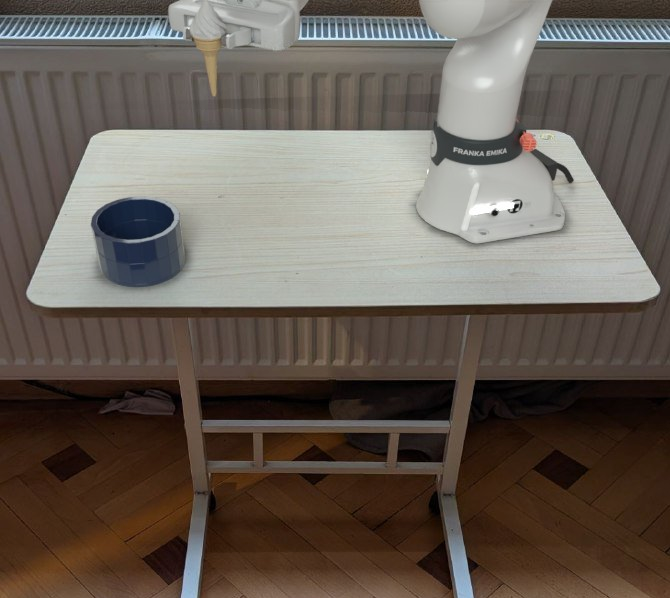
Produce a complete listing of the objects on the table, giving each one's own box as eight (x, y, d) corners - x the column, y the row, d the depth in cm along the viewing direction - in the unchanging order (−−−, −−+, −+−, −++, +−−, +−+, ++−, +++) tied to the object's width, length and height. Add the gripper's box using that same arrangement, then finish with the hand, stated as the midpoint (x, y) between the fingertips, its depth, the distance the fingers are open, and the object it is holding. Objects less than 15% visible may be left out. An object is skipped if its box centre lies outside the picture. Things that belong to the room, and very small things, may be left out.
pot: (185, 237, 120) (180, 194, 116) (184, 284, 112) (179, 240, 107) (103, 241, 119) (95, 198, 114) (96, 289, 111) (87, 244, 106)
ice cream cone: (229, 104, 128) (222, 2, 118) (193, 103, 128) (182, 1, 118) (233, 89, 132) (227, -11, 122) (198, 88, 132) (188, -12, 122)
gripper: (193, -21, 133) (144, 6, 124) (307, -1, 128) (264, 29, 118) (197, 20, 138) (149, 48, 129) (307, 41, 132) (266, 73, 123)
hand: (206, 39), depth 123 cm, fingers closed on ice cream cone, 5 cm apart
